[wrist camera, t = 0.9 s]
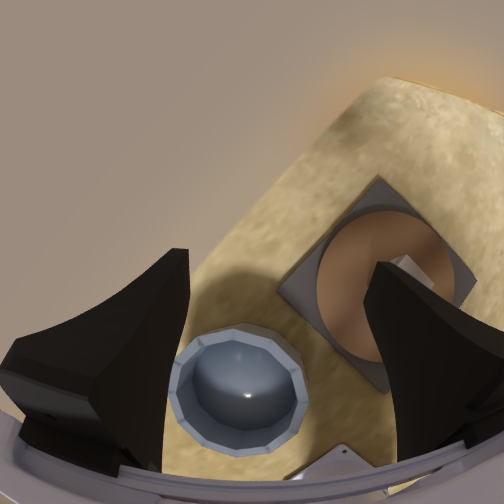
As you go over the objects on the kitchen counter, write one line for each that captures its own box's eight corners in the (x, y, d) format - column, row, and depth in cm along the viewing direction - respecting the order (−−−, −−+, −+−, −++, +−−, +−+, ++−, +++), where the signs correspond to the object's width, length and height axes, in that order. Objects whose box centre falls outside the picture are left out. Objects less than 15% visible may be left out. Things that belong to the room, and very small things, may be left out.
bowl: (331, 383, 23) (337, 400, 19) (246, 451, 24) (236, 475, 19) (244, 298, 26) (232, 300, 21) (167, 374, 26) (144, 387, 21)
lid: (472, 280, 21) (499, 278, 17) (385, 388, 22) (401, 407, 17) (380, 184, 24) (395, 163, 19) (284, 290, 24) (280, 291, 20)
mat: (474, 280, 22) (477, 280, 21) (382, 393, 22) (384, 395, 22) (378, 179, 25) (380, 177, 24) (276, 290, 25) (276, 290, 25)
